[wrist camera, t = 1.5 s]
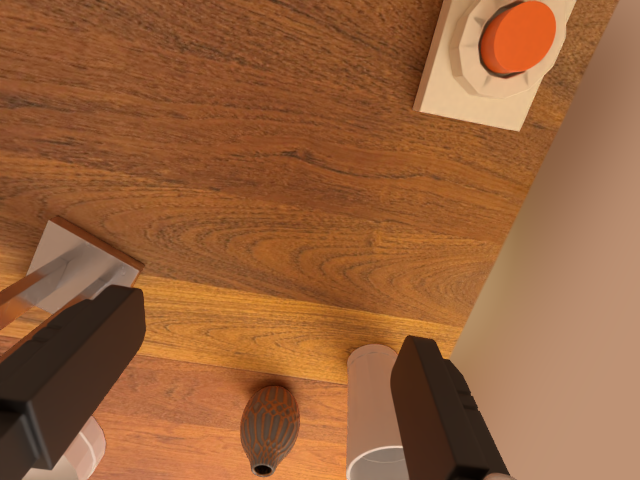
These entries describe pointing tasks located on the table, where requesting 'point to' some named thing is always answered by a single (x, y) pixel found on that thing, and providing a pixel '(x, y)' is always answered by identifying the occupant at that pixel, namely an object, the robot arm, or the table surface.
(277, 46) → the table surface
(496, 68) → the power button
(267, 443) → the vase
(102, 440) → the dish
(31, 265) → the lever bracket
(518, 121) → the block
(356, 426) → the cup
